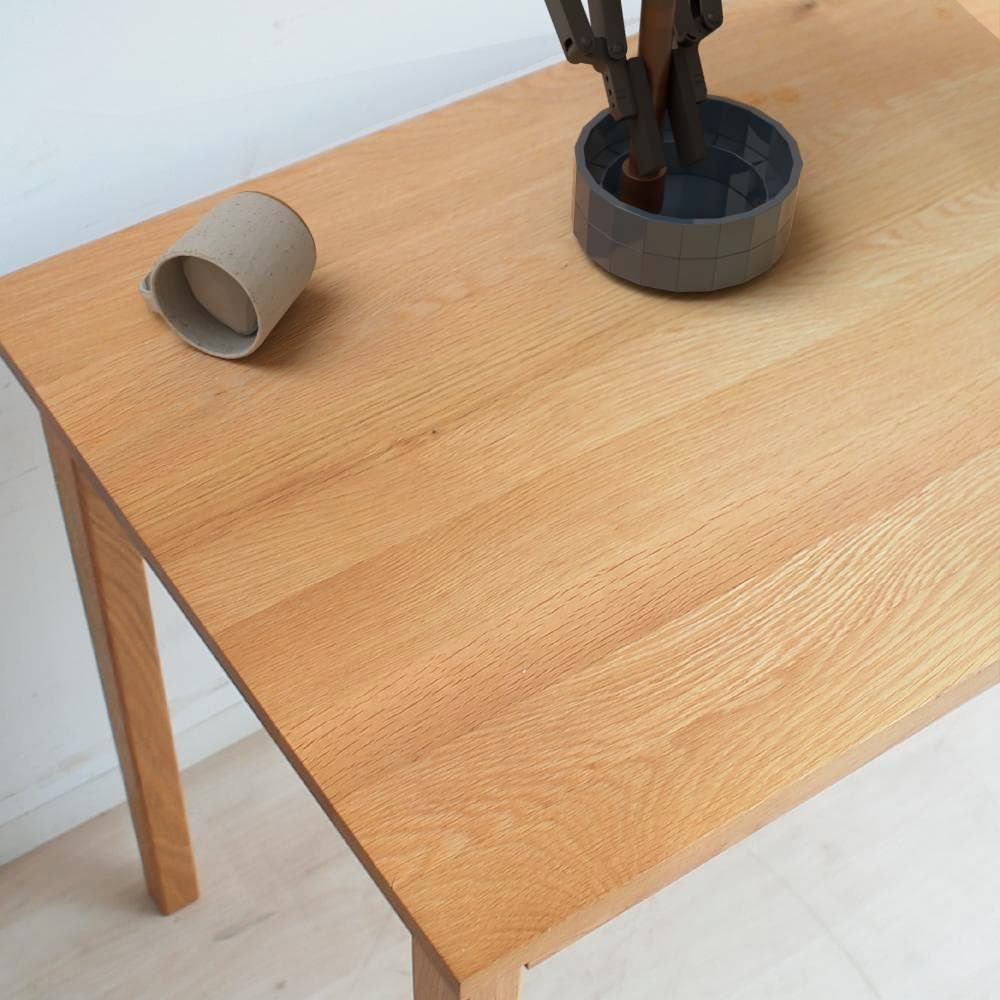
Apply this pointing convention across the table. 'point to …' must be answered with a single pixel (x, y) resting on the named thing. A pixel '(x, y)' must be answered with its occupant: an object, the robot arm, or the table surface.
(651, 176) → the brown pestle
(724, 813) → the table surface
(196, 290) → the ceramic mug
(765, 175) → the bowl
